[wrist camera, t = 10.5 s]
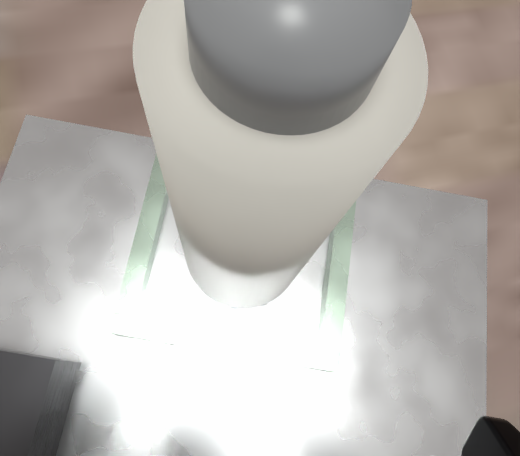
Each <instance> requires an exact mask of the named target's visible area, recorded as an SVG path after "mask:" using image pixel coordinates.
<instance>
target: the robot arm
mask: <svg viewBox="0 0 520 456" xmlns="http://www.w3.org/2000/svg"><path fill="white" fill-rule="evenodd" d="M461 456H520V432H519V431H518V430H517V429H516V428H515V427H514V426H513V425H512V424H511V423H509V422H508V421H506V420H504V419H500V418H494V417H489V416H482V417H480V418H479V419H478V420H477V421H476V423H475V425H474V427H473V429H472V430H471V432H470V434H469V436H468V438H467V439H466V441H465V443H464V445H463V447H462V451H461Z"/></svg>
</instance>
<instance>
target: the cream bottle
mask: <svg viewBox="0 0 520 456" xmlns="http://www.w3.org/2000/svg"><path fill="white" fill-rule="evenodd" d="M411 6H412V0H147V1H146V3H145V5H144V7H143V9H142V11H141V14H140V16H139V19H138V22H137V26H136V29H135V34H134V42H133V66H134V71H135V76H136V81H137V85H138V88H139V92H140V96H141V99H142V103H143V107H144V110H145V114H146V117H147V121H148V125H149V128H150V132H151V136H152V139H153V143H154V146H155V150H156V154H157V157H158V161H159V165H160V168H161V172H162V175H163V179H164V183H165V186H166V190H167V194H168V197H169V201H170V204H171V208H172V212H173V215H174V219H175V223H176V226H177V230H178V233H179V237H180V241H181V244H182V248H183V252H184V255H185V259H186V262H187V266H188V269H189V272H190V274H191V276H192V278H193V280H194V282H195V283H196V284H197V286H198V287H199V288H200V289H201V290H202V291H203V292H204V293H205V294H206V295H207V296H209V297H210V298H212V299H213V300H215V301H217V302H219V303H221V304H224V305H227V306H230V307H237V308H250V307H256V306H260V305H263V304H266V303H268V302H270V301H272V300H274V299H275V298H277V297H278V296H279V295H281V294H282V293H283V292H284V291H285V290H286V289H287V287H288V286H289V285H290V284H291V282H292V281H293V280H294V279H295V277H296V276H297V275H298V273H299V272H300V271H301V270H302V268H303V267H304V266H305V265H306V263H307V262H308V261H309V260H310V258H311V257H312V256H313V254H314V253H315V252H316V251H317V249H318V248H319V247H320V246H321V244H322V243H323V242H324V241H325V239H326V238H327V237H328V235H329V234H330V233H331V232H332V230H333V229H334V228H335V227H336V225H337V224H338V223H339V222H340V220H341V219H342V218H343V216H344V215H345V214H346V213H347V211H348V210H349V209H350V208H351V206H352V205H353V204H354V203H355V201H356V200H357V199H358V198H359V196H360V195H361V194H362V192H363V191H364V190H365V189H366V187H367V186H368V185H369V184H370V182H371V181H372V180H373V179H374V177H375V176H376V175H377V173H378V172H379V171H380V170H381V168H382V167H383V166H384V165H385V163H386V162H387V161H388V160H389V158H390V157H391V156H392V154H393V153H394V152H395V151H396V149H397V148H398V147H399V146H400V144H401V143H402V142H403V140H404V139H405V138H406V137H407V135H408V134H409V133H410V132H411V130H412V128H413V126H414V125H415V123H416V121H417V119H418V117H419V115H420V112H421V110H422V107H423V104H424V101H425V96H426V91H427V86H428V63H427V55H426V50H425V47H424V43H423V39H422V36H421V34H420V31H419V29H418V27H417V24H416V22H415V20H414V19H413V17H412V15H411V14H410V11H411Z"/></svg>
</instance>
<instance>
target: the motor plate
mask: <svg viewBox="0 0 520 456" xmlns="http://www.w3.org/2000/svg"><path fill="white" fill-rule="evenodd" d="M486 364H487V200H484V199H479V198H474V197H468V196H463V195H457V194H452V193H447V192H441V191H436V190H430V189H425V188H420V187H414V186H409V185H403V184H398V183H393V182H387V181H382V180H376V179H373V180H372V181H371V182H370V184H369V185H368V186H367V187H366V189H365V190H364V191H363V192H362V194H361V195H360V196H359V198H358V199H357V200H356V201H355V203H354V204H353V205H352V206H351V208H350V209H349V210H348V211H347V213H346V214H345V215H344V216H343V218H342V219H341V220H340V222H339V223H338V224H337V225H336V227H335V228H334V229H333V230H332V232H331V233H330V234H329V235H328V237H327V238H326V239H325V241H324V242H323V243H322V244H321V246H320V247H319V248H318V249H317V251H316V252H315V253H314V254H313V256H312V257H311V258H310V260H309V261H308V262H307V263H306V265H305V266H304V267H303V268H302V270H301V271H300V272H299V273H298V275H297V276H296V277H295V279H294V280H293V281H292V282H291V284H290V285H289V286H288V287H287V289H286V290H285V291H284V292H283V293H282V294H281V295H279V296H278V297H277V298H275V299H274V300H272V301H270V302H268V303H266V304H263V305H260V306H256V307H250V308H237V307H230V306H227V305H224V304H221V303H219V302H217V301H215V300H213V299H212V298H210V297H209V296H207V295H206V294H205V293H204V292H203V291H202V290H201V289H200V288H199V287H198V286H197V284H196V283H195V282H194V280H193V278H192V276H191V274H190V272H189V269H188V266H187V262H186V259H185V255H184V252H183V248H182V244H181V241H180V237H179V233H178V230H177V226H176V223H175V219H174V215H173V212H172V208H171V204H170V201H169V197H168V194H167V190H166V186H165V183H164V179H163V175H162V172H161V168H160V165H159V161H158V157H157V154H156V150H155V146H154V143H153V139H152V138H150V137H144V136H139V135H134V134H128V133H123V132H117V131H112V130H107V129H101V128H96V127H90V126H85V125H80V124H74V123H69V122H63V121H58V120H53V119H47V118H42V117H36V116H31V115H26V116H25V119H24V122H23V124H22V127H21V130H20V132H19V135H18V138H17V140H16V143H15V146H14V148H13V151H12V154H11V157H10V159H9V162H8V165H7V167H6V170H5V173H4V175H3V178H2V181H1V183H0V456H461V451H462V447H463V445H464V443H465V441H466V439H467V438H468V436H469V434H470V432H471V430H472V429H473V427H474V425H475V423H476V421H477V420H478V419H479V418H480V417H482V416H486Z"/></svg>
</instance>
